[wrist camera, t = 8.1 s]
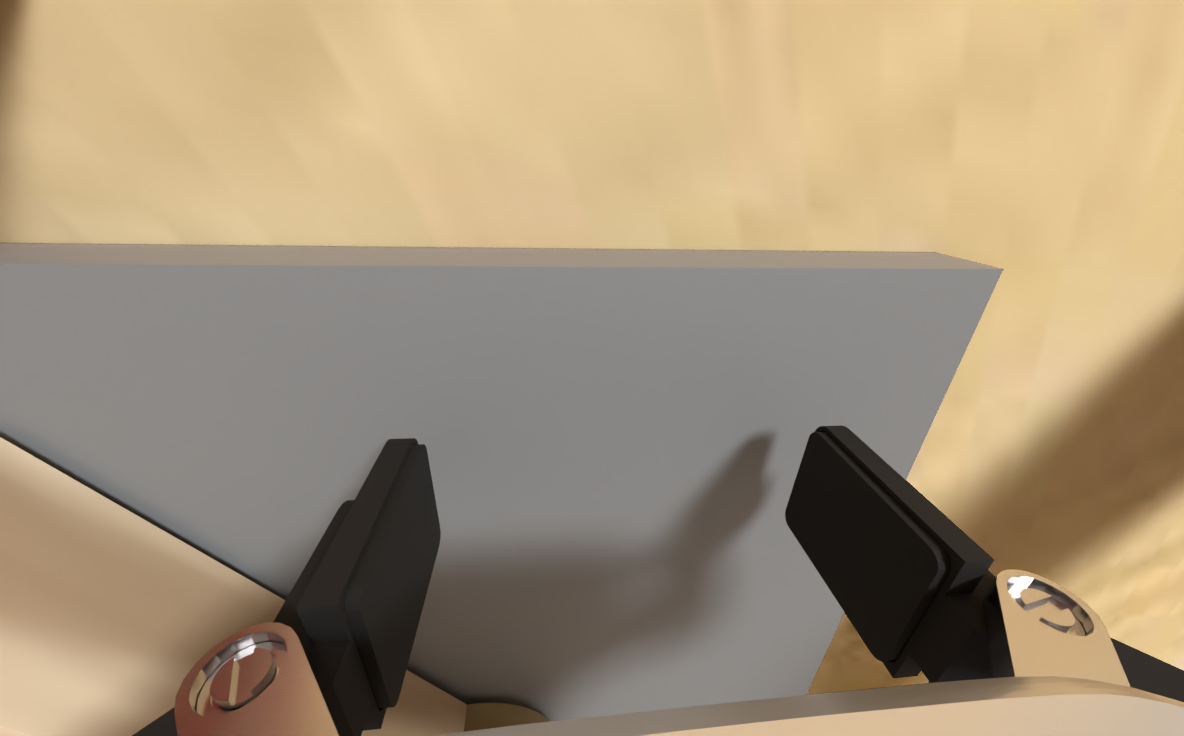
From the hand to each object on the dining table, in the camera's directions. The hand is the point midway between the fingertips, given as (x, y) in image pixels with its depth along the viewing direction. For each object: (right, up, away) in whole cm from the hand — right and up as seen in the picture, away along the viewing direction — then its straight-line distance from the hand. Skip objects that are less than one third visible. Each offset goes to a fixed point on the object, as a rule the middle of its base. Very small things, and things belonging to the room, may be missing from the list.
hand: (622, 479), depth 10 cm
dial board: (-5, -5, +5) cm, 9 cm away
